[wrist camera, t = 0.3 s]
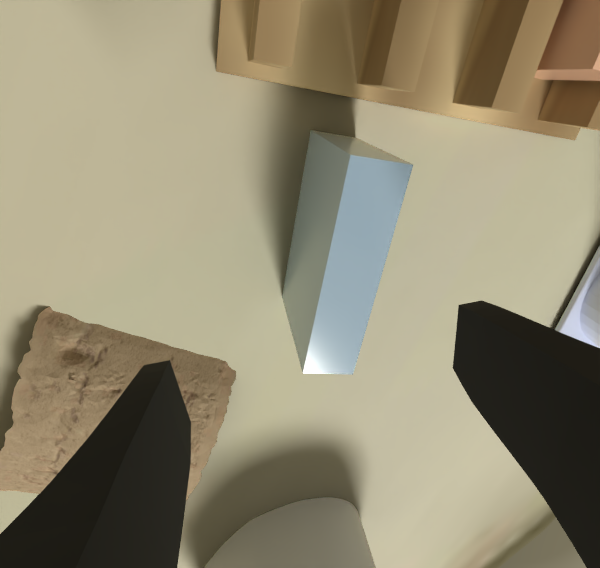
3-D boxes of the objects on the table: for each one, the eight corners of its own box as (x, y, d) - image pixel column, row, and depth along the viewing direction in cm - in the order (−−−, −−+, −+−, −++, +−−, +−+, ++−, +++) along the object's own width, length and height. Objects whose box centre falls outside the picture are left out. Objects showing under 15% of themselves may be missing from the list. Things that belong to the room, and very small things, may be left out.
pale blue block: (355, 137, 17) (413, 164, 12) (319, 298, 21) (352, 374, 15) (310, 129, 17) (350, 154, 12) (281, 295, 20) (302, 373, 15)
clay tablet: (46, 289, 18) (21, 321, 16) (249, 344, 22) (253, 377, 20) (-2, 492, 24) (-26, 538, 21) (169, 510, 27) (165, 552, 25)
